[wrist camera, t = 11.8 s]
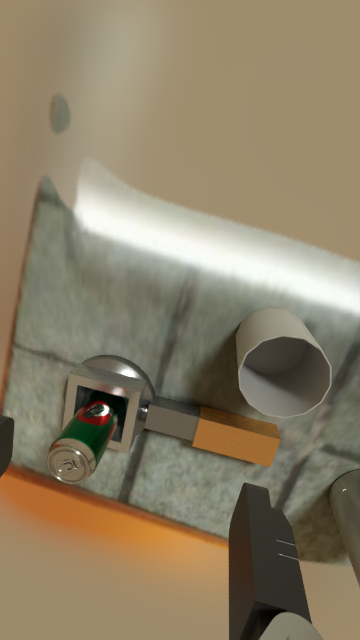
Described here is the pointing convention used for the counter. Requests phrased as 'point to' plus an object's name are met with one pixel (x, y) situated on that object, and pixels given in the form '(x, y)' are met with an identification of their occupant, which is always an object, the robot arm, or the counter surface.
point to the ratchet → (167, 413)
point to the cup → (280, 364)
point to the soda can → (85, 437)
